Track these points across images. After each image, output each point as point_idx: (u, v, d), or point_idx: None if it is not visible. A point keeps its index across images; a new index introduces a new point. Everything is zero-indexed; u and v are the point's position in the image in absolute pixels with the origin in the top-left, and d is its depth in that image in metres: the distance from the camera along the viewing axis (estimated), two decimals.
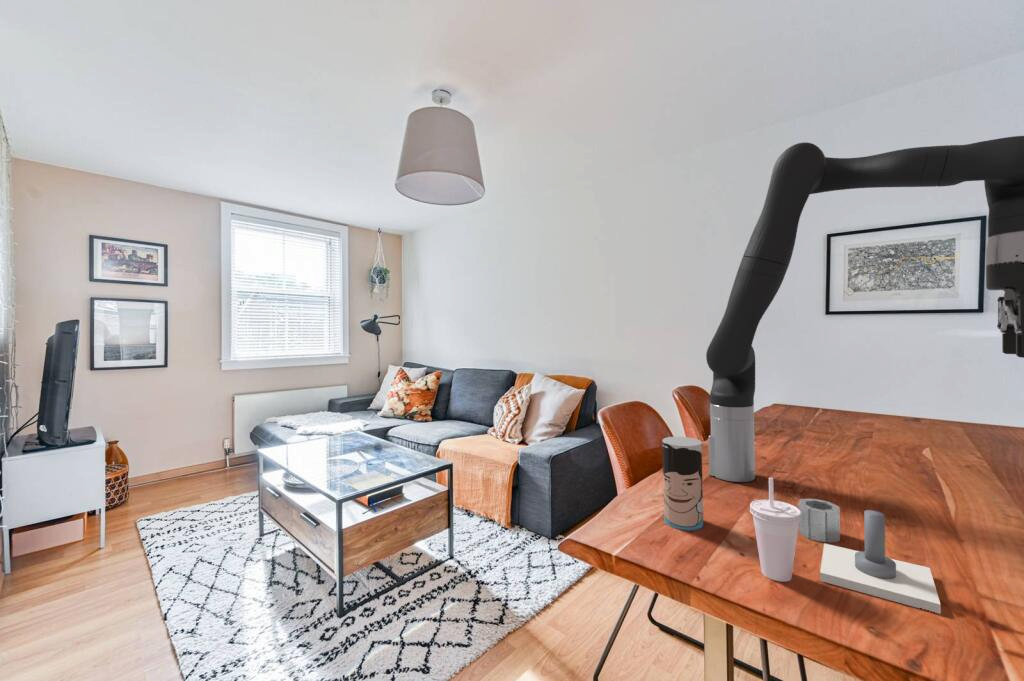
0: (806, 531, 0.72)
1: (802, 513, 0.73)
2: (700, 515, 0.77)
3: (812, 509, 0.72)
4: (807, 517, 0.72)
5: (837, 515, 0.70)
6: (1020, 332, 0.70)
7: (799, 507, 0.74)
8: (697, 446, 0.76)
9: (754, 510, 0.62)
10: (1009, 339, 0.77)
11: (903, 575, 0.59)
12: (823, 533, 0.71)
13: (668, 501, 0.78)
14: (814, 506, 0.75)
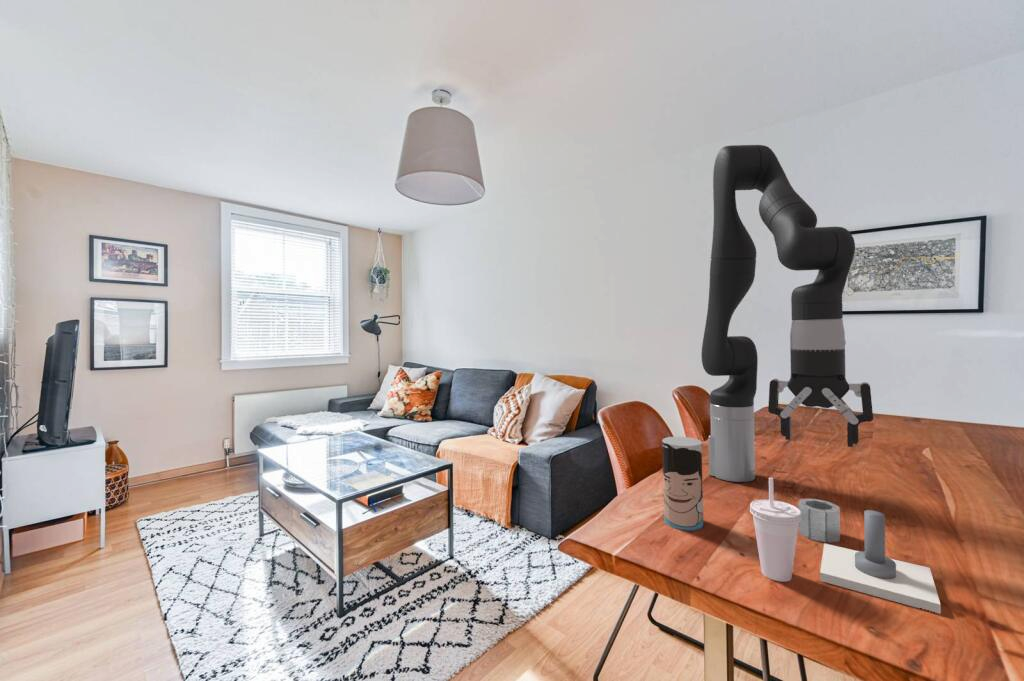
0: (806, 531, 0.72)
1: (802, 513, 0.73)
2: (700, 515, 0.77)
3: (812, 509, 0.72)
4: (807, 517, 0.72)
5: (837, 515, 0.70)
6: (857, 422, 0.69)
7: (799, 507, 0.74)
8: (697, 446, 0.76)
9: (754, 510, 0.62)
10: (790, 424, 0.75)
11: (903, 575, 0.59)
12: (823, 533, 0.71)
13: (668, 501, 0.78)
14: (814, 506, 0.75)
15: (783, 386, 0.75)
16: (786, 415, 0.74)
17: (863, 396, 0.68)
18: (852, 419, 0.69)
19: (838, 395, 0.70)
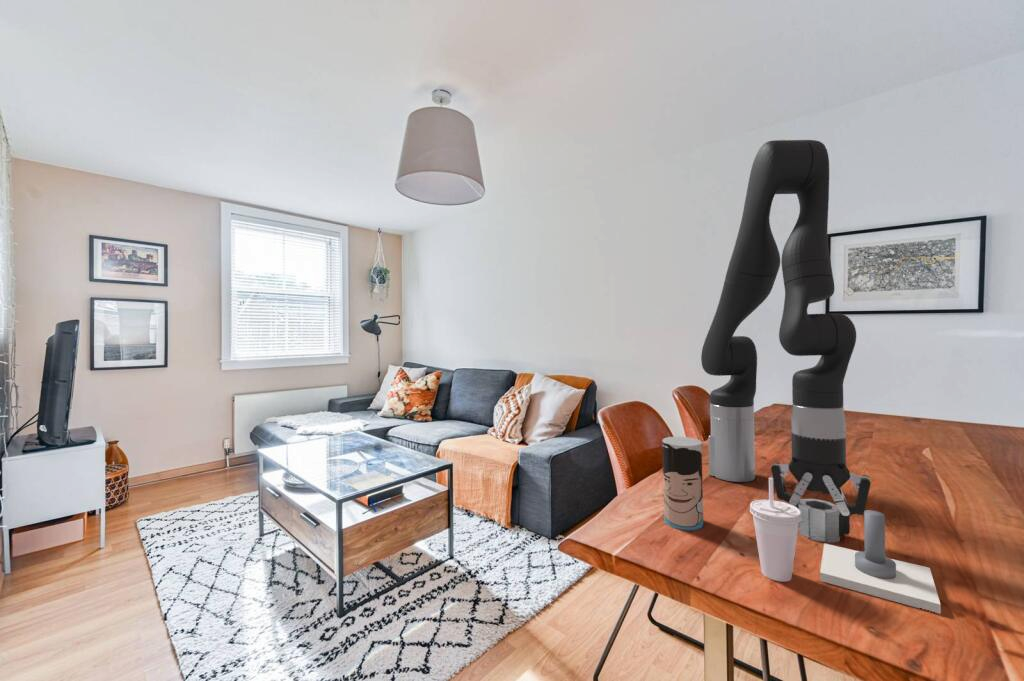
0: (806, 531, 0.72)
1: (802, 513, 0.73)
2: (700, 515, 0.77)
3: (812, 509, 0.72)
4: (807, 517, 0.72)
5: (837, 515, 0.70)
6: (848, 514, 0.70)
7: (799, 507, 0.74)
8: (697, 446, 0.76)
9: (754, 510, 0.62)
10: None
11: (903, 575, 0.59)
12: (823, 533, 0.71)
13: (668, 501, 0.78)
14: (814, 506, 0.75)
15: (785, 470, 0.76)
16: (795, 502, 0.74)
17: (861, 490, 0.69)
18: (843, 511, 0.70)
19: (837, 485, 0.70)
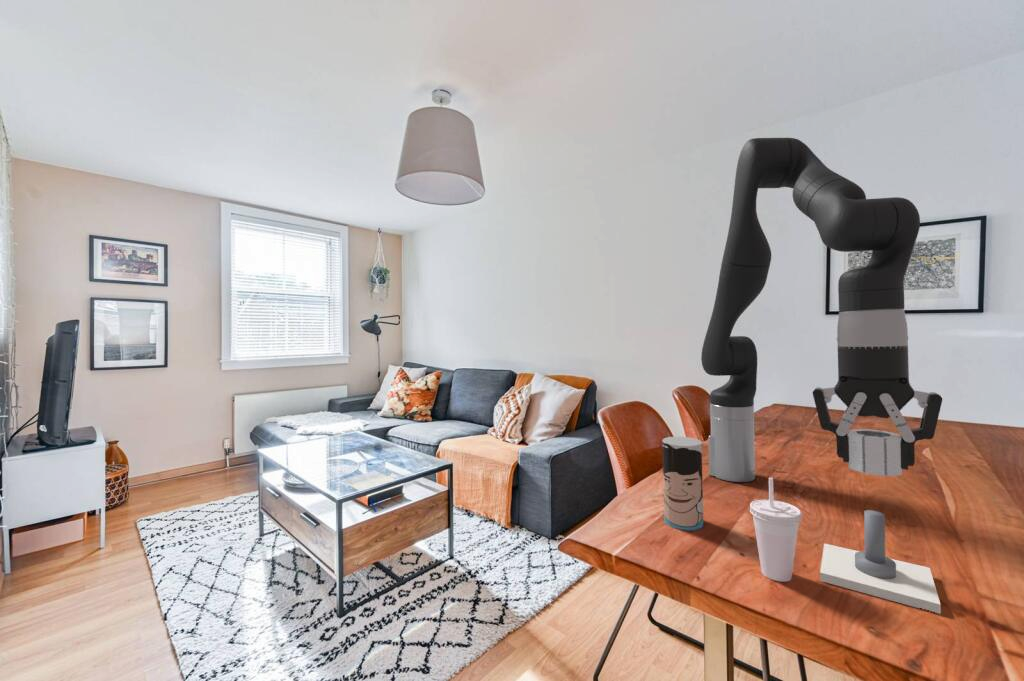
0: (859, 464, 0.59)
1: (853, 443, 0.60)
2: (700, 515, 0.77)
3: (867, 436, 0.58)
4: (860, 447, 0.59)
5: (899, 442, 0.57)
6: None
7: (849, 437, 0.61)
8: (697, 446, 0.76)
9: (754, 510, 0.62)
10: (848, 443, 0.61)
11: (903, 575, 0.59)
12: (882, 465, 0.57)
13: (668, 501, 0.78)
14: None
15: (830, 394, 0.62)
16: (844, 431, 0.61)
17: (929, 408, 0.55)
18: (907, 436, 0.57)
19: (898, 405, 0.57)
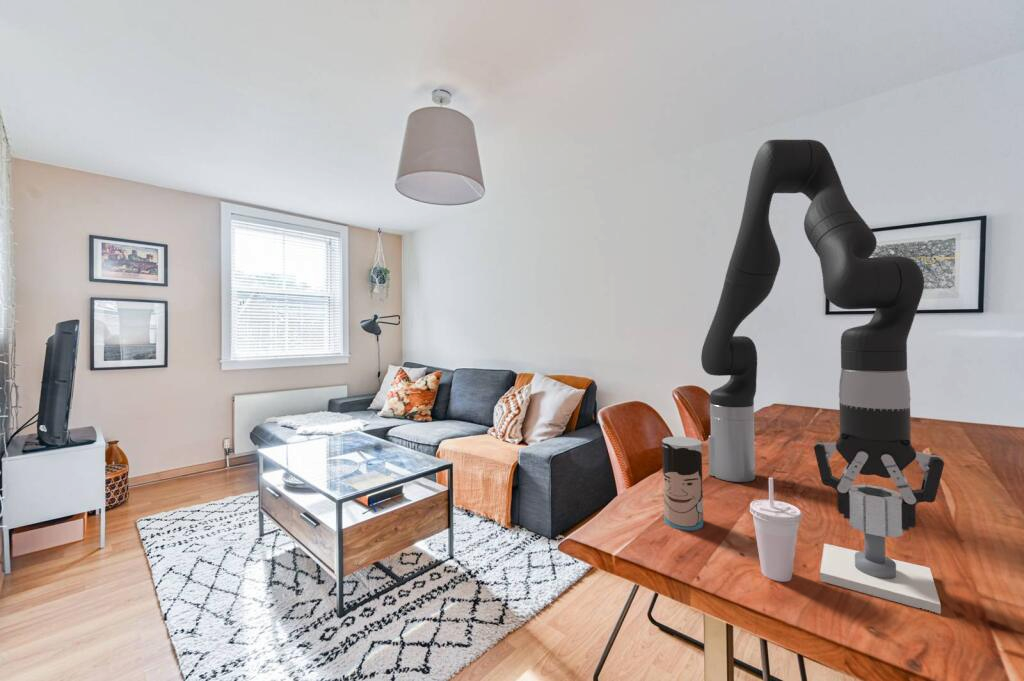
0: (860, 523, 0.59)
1: (854, 502, 0.60)
2: (700, 515, 0.77)
3: (868, 496, 0.58)
4: (861, 506, 0.59)
5: (900, 503, 0.57)
6: None
7: (850, 494, 0.61)
8: (697, 446, 0.76)
9: (754, 510, 0.62)
10: (849, 500, 0.61)
11: (903, 575, 0.59)
12: (882, 526, 0.57)
13: (668, 501, 0.78)
14: (867, 493, 0.62)
15: (831, 450, 0.62)
16: (845, 489, 0.61)
17: (931, 472, 0.55)
18: (908, 498, 0.57)
19: (900, 466, 0.57)
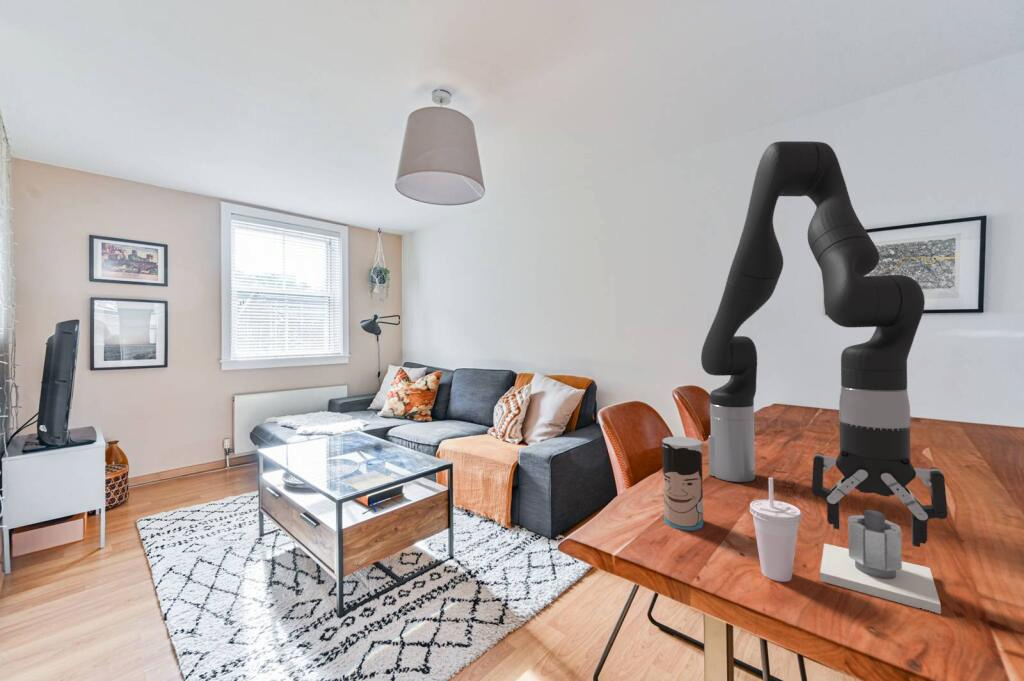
0: (859, 556, 0.59)
1: (854, 534, 0.60)
2: (700, 515, 0.77)
3: (867, 529, 0.59)
4: (861, 539, 0.59)
5: (899, 537, 0.58)
6: None
7: (850, 526, 0.61)
8: (697, 446, 0.76)
9: (754, 510, 0.62)
10: (839, 511, 0.62)
11: (903, 575, 0.59)
12: (882, 559, 0.58)
13: (668, 501, 0.78)
14: None
15: (830, 464, 0.63)
16: (834, 500, 0.62)
17: (935, 487, 0.55)
18: (920, 514, 0.56)
19: (902, 482, 0.57)
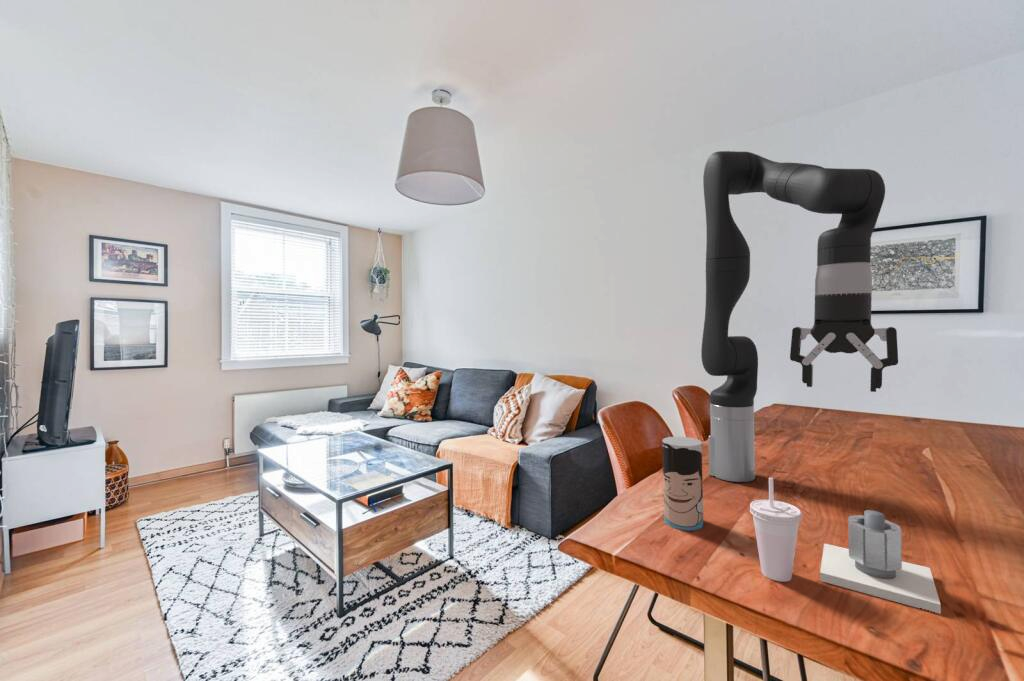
0: (859, 556, 0.59)
1: (854, 534, 0.60)
2: (700, 515, 0.77)
3: (867, 529, 0.59)
4: (861, 539, 0.59)
5: (899, 537, 0.58)
6: (881, 366, 0.68)
7: (850, 526, 0.61)
8: (697, 446, 0.76)
9: (754, 510, 0.62)
10: (811, 371, 0.75)
11: (903, 575, 0.59)
12: (882, 559, 0.58)
13: (668, 501, 0.78)
14: None
15: (806, 333, 0.75)
16: (808, 362, 0.74)
17: (889, 340, 0.67)
18: (876, 363, 0.68)
19: (863, 340, 0.69)
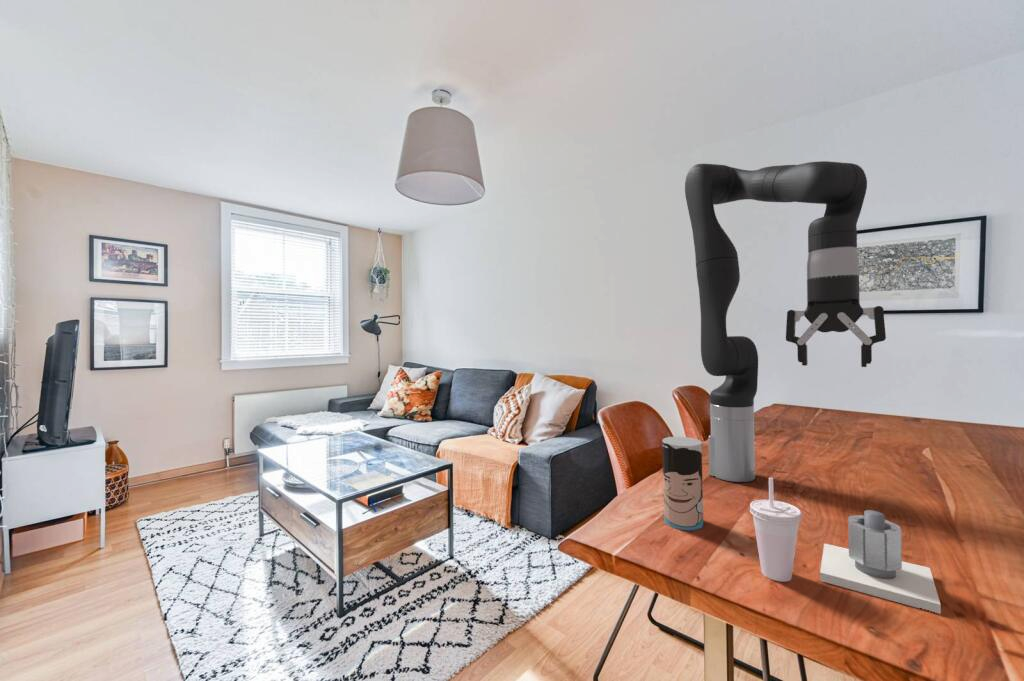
0: (859, 556, 0.59)
1: (854, 534, 0.60)
2: (700, 515, 0.77)
3: (867, 529, 0.59)
4: (861, 539, 0.59)
5: (899, 537, 0.58)
6: (870, 343, 0.74)
7: (850, 526, 0.61)
8: (697, 446, 0.76)
9: (754, 510, 0.62)
10: (806, 351, 0.80)
11: (903, 575, 0.59)
12: (882, 559, 0.58)
13: (668, 501, 0.78)
14: None
15: (800, 315, 0.80)
16: (803, 342, 0.79)
17: (876, 317, 0.73)
18: (866, 340, 0.74)
19: (852, 319, 0.75)
